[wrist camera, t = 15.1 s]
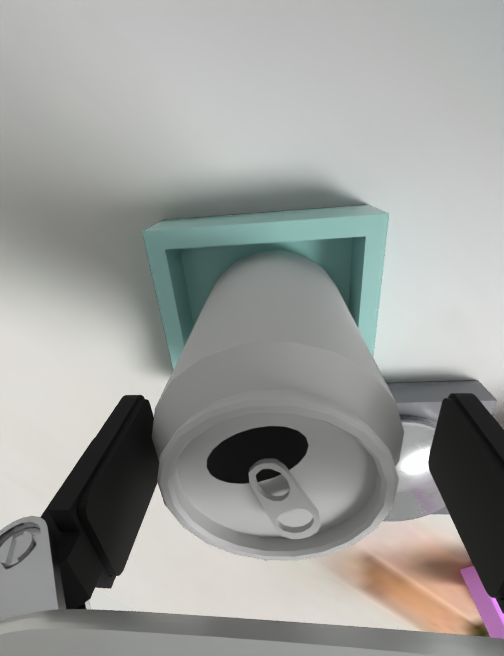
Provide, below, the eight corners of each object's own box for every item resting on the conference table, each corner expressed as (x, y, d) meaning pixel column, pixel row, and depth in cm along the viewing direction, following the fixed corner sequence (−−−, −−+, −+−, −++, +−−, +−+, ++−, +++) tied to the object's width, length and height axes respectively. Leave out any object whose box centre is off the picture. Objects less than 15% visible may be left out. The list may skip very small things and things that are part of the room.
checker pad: (475, 413, 20) (486, 427, 19) (447, 505, 24) (455, 521, 23) (328, 416, 21) (331, 430, 20) (324, 505, 25) (327, 521, 24)
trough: (369, 204, 17) (388, 213, 14) (354, 378, 22) (367, 410, 19) (162, 219, 18) (141, 231, 15) (194, 383, 23) (183, 414, 20)
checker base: (478, 380, 21) (505, 409, 19) (445, 490, 26) (463, 524, 24) (305, 385, 22) (309, 413, 20) (305, 490, 27) (308, 523, 25)
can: (300, 218, 16) (351, 321, 6) (360, 330, 19) (469, 542, 9) (184, 288, 19) (65, 459, 8) (252, 381, 21) (233, 601, 11)
